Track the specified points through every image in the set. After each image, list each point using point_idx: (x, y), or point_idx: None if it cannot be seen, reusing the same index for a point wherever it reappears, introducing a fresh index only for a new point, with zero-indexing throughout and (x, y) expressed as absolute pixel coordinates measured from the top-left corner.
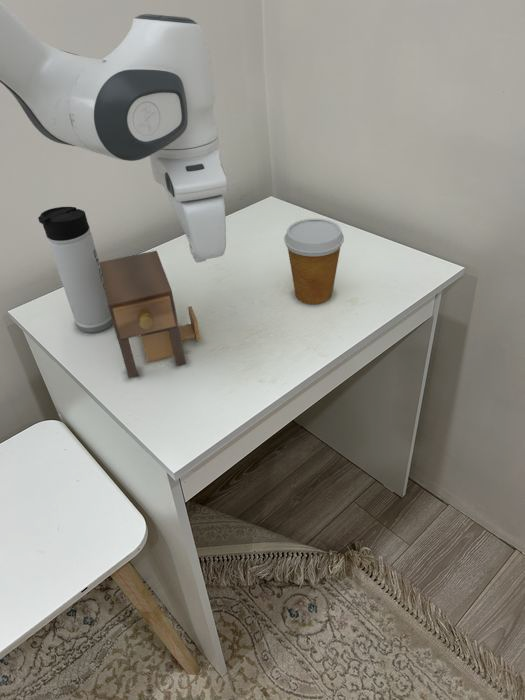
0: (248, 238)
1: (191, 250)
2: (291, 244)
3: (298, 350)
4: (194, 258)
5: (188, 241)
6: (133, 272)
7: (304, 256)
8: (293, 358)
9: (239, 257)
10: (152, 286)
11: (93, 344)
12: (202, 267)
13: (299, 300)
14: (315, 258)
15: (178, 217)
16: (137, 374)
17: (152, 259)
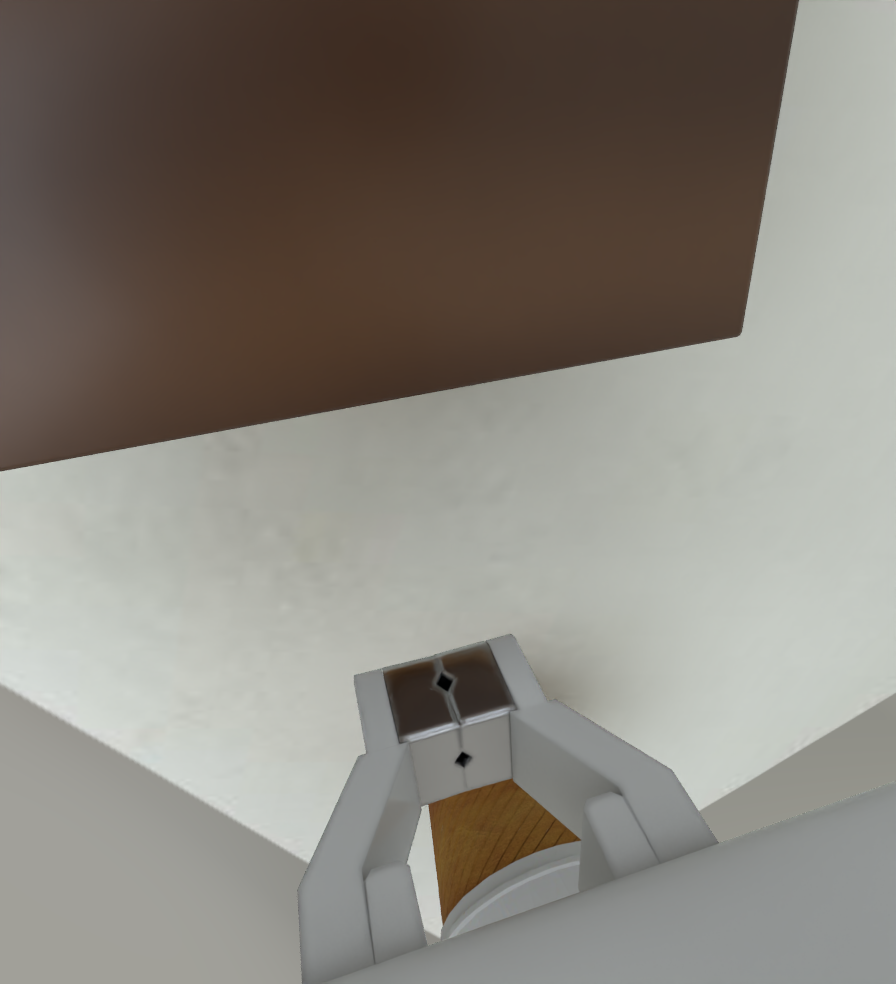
0: (866, 554)
1: (459, 693)
2: (525, 895)
3: (181, 678)
4: (357, 698)
5: (556, 708)
6: (414, 52)
7: (466, 890)
8: (136, 665)
9: (781, 524)
10: (33, 285)
11: None
12: (800, 394)
13: None
14: (445, 910)
15: (725, 971)
16: None
17: (606, 296)
